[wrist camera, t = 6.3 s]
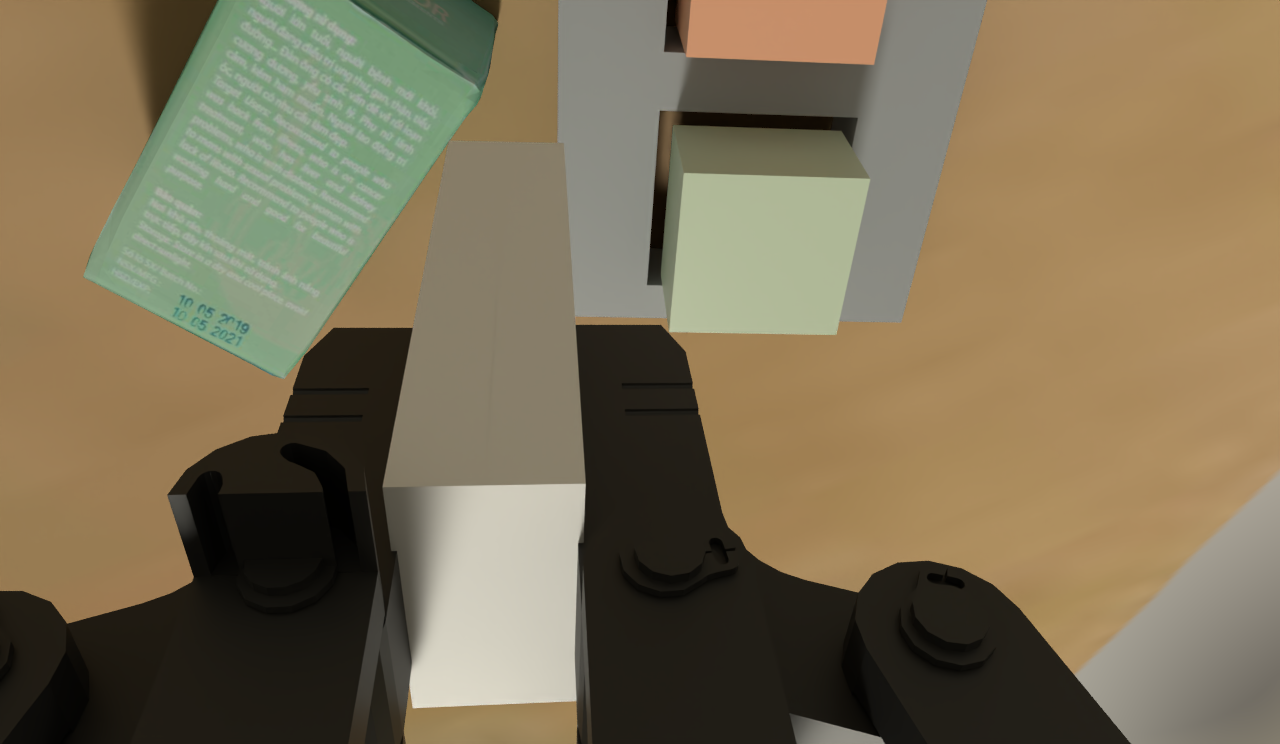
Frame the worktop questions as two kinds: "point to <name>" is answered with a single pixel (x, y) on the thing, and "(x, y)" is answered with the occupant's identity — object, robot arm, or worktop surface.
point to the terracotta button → (782, 29)
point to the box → (288, 163)
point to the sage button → (760, 229)
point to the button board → (669, 81)
